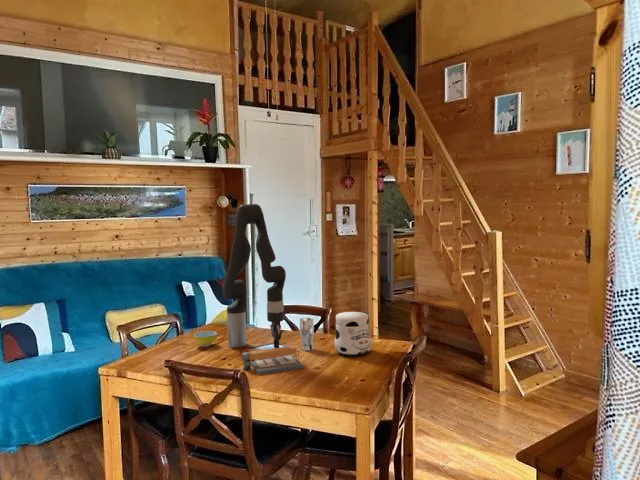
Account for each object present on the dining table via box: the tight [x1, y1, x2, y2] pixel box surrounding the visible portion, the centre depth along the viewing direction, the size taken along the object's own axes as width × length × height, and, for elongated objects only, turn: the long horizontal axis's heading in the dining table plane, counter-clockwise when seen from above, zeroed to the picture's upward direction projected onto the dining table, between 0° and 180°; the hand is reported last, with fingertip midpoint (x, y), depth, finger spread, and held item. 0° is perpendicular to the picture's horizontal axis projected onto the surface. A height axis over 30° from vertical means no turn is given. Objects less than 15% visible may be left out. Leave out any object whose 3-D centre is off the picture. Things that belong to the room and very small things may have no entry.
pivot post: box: [243, 360, 252, 371], centre depth 209 cm, size 3×3×4 cm
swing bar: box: [241, 345, 298, 361], centre depth 212 cm, size 24×4×2 cm, turn 111°
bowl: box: [193, 330, 218, 348], centre depth 246 cm, size 11×12×6 cm
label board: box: [250, 355, 304, 375], centre depth 211 cm, size 14×20×2 cm
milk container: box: [333, 311, 372, 357], centre depth 228 cm, size 17×17×18 cm
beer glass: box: [299, 317, 315, 352], centre depth 235 cm, size 7×7×15 cm
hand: (276, 347), depth 220 cm, fingers closed
